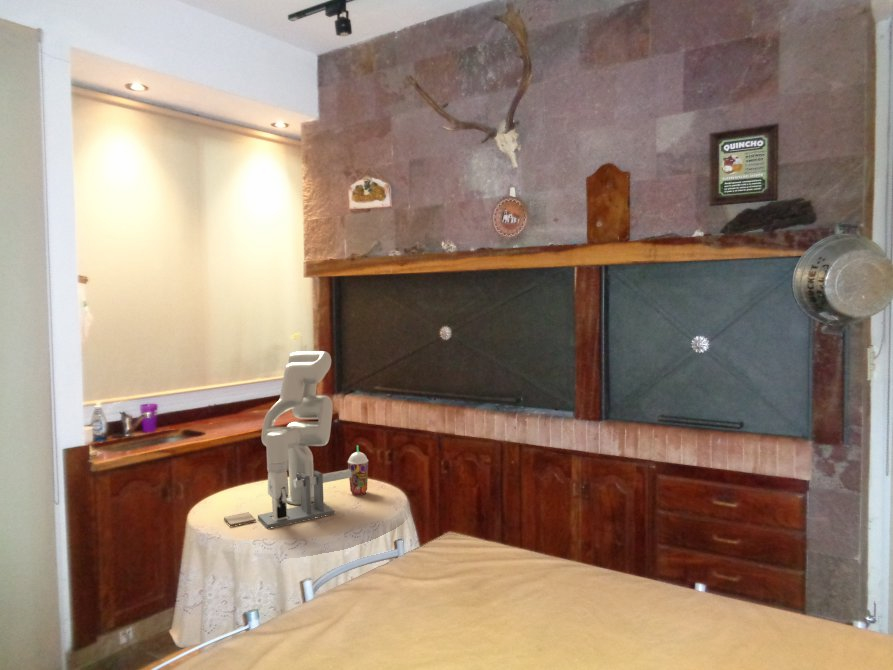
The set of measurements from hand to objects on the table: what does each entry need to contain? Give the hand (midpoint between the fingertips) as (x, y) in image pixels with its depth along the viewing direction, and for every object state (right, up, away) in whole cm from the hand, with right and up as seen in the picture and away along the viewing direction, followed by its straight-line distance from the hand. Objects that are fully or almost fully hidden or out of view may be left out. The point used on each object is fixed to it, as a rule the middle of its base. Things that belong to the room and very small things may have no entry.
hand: (279, 514), depth 235 cm
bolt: (+14, +10, +8) cm, 19 cm away
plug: (0, -2, 0) cm, 2 cm away
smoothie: (+25, 0, +30) cm, 39 cm away
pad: (-15, -2, +1) cm, 15 cm away
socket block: (+5, -2, +5) cm, 7 cm away
